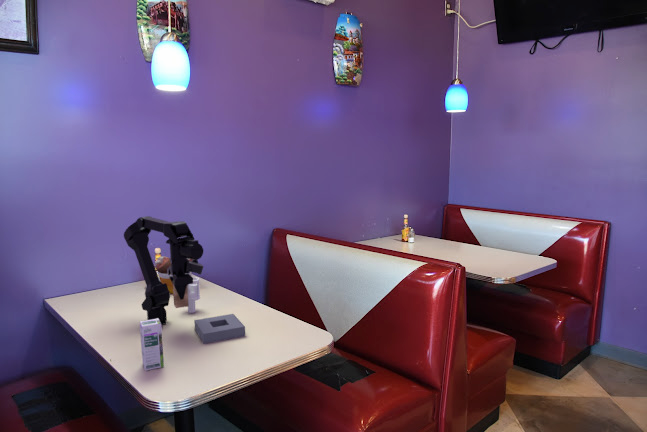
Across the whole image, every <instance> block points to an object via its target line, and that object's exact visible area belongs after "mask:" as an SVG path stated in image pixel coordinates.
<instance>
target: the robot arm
mask: <svg viewBox="0 0 647 432" xmlns="http://www.w3.org/2000/svg"><path fill="white" fill-rule="evenodd" d="M152 231H155V232H159V233H162V234H163V236H164V237H166V238H167V240H166V241H165V243H166V244H167V245H169V254H170V255H169V256H170V257H169V258H170V262H171V266H169V267H168V269H167V274H168V275H170V273H171V276H170V277H169V278H170V280H171V282H172V284H174V287H175V289H176V291H177V293H178V295H179V297H180V299H181V300H182V299H184V295H185V290H186V286H187V285H188V284H192V283H193V281H194V280H193V278H192V277H193V275H192V274H191V275H189V274H188V273H190V272H192V273H196V274H198V275H202V273H203V270H204V267H205V266H204V265H203V264H202V263H200V262H199V261H198V260H200V259H201V258H202V256H203V255H204V248H203V245H201V244H200V243H199V239H195V237H194V234H193V233H192V231H191V230H190V228H189V225H188V224H187V222H186V221H184V220H182V221H181V220H177V221H167V220H163V219H159V218H155V217H152V216H150V215H149V216H148V215H147V216H142V217H138V218H137V220H135V222H133V223H132V224H130V225H129V226H128V227H127V228H126V229H125V231H124V232H123V237H124V240H125V242H126V245H127V246H128V247H129V248H130V249H132V251H134V253H135V256H136V258H137V259H136V260H137V263H138V265H139V268H140V270H141V274H142V277H143V279H144V282H145V290H144V291H145V292H144V296H145V299H144V300H143V302H142V303H141V308H142V310H143V311H146V317H147V319H146V320H151V319H156V318H158V319H159V320H160V322H161V326H162V325H166V324H167V318H168V317H167V316H168V315H167V309H165V307H168V306H169V304H170V298H171V294H169V293H170V292H169V290H168V287H167V284H166V283H164V284H163V283H161V281H160V278H159V275H158V272H157V270H156V266H155V264H154V262H153V259H152V256H151V253H150V251H149V247H148V245H149V240H150V237H149V234H150V233H151V232H152ZM187 258H189V259H192V261H189V260H188V259H187ZM185 273H186V274H185ZM173 281H174V282H173Z"/></svg>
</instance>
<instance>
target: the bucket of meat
mask: <svg viewBox="0 0 647 432" xmlns="http://www.w3.org/2000/svg"><path fill="white" fill-rule="evenodd" d="M187 259H188V260H189V261H192V259H189V258H187ZM169 266H171V262H170V257H169V256H168V257H167V256H159V257H157V260H155V270H156V272H157V275H158V278H159V281H160V282H161V283H163V284H164V283H166V284H167V287H168V290H169V292H170V293H169V294H170V295H173V284H172V282H171V280H170V278H169V277H170V276H171V273H170V275H168V274H167V269H168V267H169ZM192 273H193V272H190V273H188V274H189V275H191V276H192ZM185 274H186V273H185Z"/></svg>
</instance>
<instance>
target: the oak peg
mask: <svg viewBox="0 0 647 432" xmlns="http://www.w3.org/2000/svg"><path fill="white" fill-rule="evenodd" d="M173 282H174V281H173ZM172 296H173V305H174V307H175V309H179V308H180V309H181V308H188V306H189V303H188V285H187V286H186V290H185V295H184V299H182V300H181V299H180V297H179V295H178V293H177V291H176V289H175V287H174V284H173V294H172Z"/></svg>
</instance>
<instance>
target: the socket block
mask: <svg viewBox="0 0 647 432" xmlns="http://www.w3.org/2000/svg"><path fill="white" fill-rule="evenodd" d="M240 320H241V319H239V318H238V317H237V316H236V315H235V314H234V313H230V314H224V315H218V316H211V317H206V318H200V319H194V330H195V332H196V334H197V335H198V336H199V338H200V340H201V342H202V343H203V344H210V343H214V342H215V343H216V342H221V341H225V340H226V341H227V340H231V339H236V338H241V337H245V336H246V326H245V325H244V324H243V322H242V321H240Z"/></svg>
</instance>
